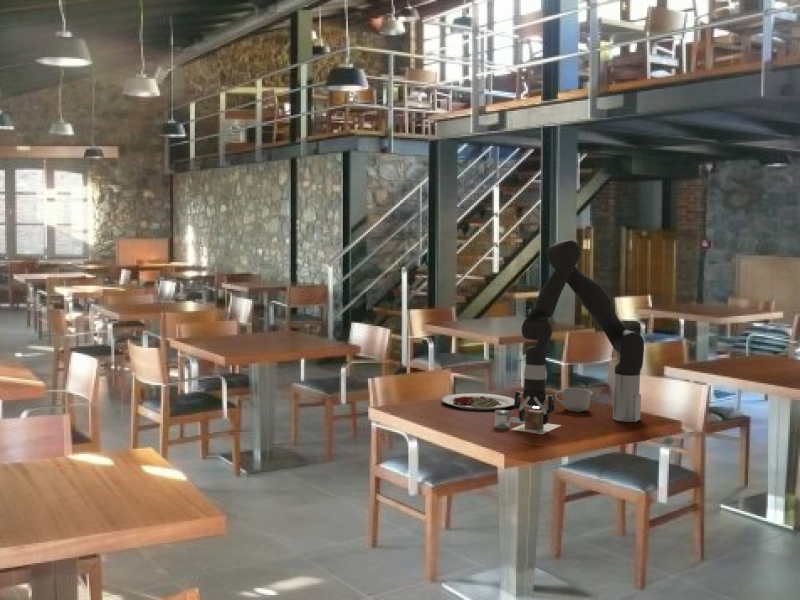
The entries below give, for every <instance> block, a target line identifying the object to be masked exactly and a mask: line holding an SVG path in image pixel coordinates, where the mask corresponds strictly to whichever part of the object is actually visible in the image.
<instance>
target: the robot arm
mask: <svg viewBox="0 0 800 600" xmlns="http://www.w3.org/2000/svg"><path fill="white" fill-rule="evenodd" d="M580 257H581V249H580V245H579V244H578V243H577V241H574V240H572V239H565V240H562V241H559V242H556V243H553V244H551V245H549V246H548V248H547V250H546V258H547V261H548V262H549V264H550V266H551V267H552V268H553V269H554V271H553V272H552V274H551V275H550V277H549V278H548V280H547V281H546V282H545V284H544V285H543V287H542V288H541V290H540V292H539V294H538V296H537V299H536V301H535V305H534V307H533V308H532V310H531V311H530V312H529V313H528V315H527V316H526V318H525V319H524V321H523V323H522V325H521V335H522V337H523V338H524V339H526V340H528V341H529V340H532V341H537V342H536V345H534V346H529V347H527V348H526V349H525V350H526V351H525V364H524V370H523V371H524V372H523V373H524V374H523V380H524V381H523V391H520V390H517V391H515V393H514V399H515V401H514V405H513V408H514V409H517V410H518V411H519V413H518V418H519V419H520V421H522V422H523V421H524V420H525V412H526V410H525V409H526V408H527V406H532V405H533V406H539V408H540V409H539V410H540V411H543V413H544V414H543V424H544V425H546V424H547V423H548V424H549V419H550V418H549V416H550V414H553V413H554V412H555V394H551V395H547V394H546V389H547V388H546V384H547V378H546V370H547V367H546V365H547V363H546V362H547V361H546V360H547V353H548V352H547V351H548V348H549V344H550V341H551V339H552V338H551V337H552V334H553V329H552V325H551V323H550V322H549V321H548V320H546V319H550V318H552V317H553V315H554V314H555V310H556V307H557V305H558V302H559V299H560V297H561V294H562V292H563V290H564V288H565V286H566V284H567V285H568V286H569V288H570V289H571V290H572V291H573V293H574V294H575V296H576V297H577V299H579V301H580V303H581V304H582V305H583V306H584V308H585V309H586V310H587V312H588V313H589V315H591V317H592V318H593V319H594V321H595V322H596V323H597V324H598V326H599V327H600V328H601V329H602V330H603V333H604V334H605V336H606V337H607V339H608V341H609V343H610V344H611V346H612V348H613V349H614V350H615V351H616V352H617V354H620V355H619V362H618V364H616V365H615V366H614V378H613V379H614V381H613V405H612V406H613V407H612V408H613V409H612V410H613V411H612V412H613V413H612V419H613V420H614V421H618V422H624V423H625V422H628V423H637V422H638V421H640V420H641V413H642V412H641V408H642V395H641V393H640V388H641V387H640V385H641V370H642V367H643V364H644V356H645V355H644V352H645V342H644V338H643V336H642V335H641V334H640V333H638V332H637V331H633V330H629V329H628V328H627V327H626V326H625V325H624V324H623V323H622V322H621V320H620V319H619V318H618V316H617V314H616V311H615V308H614V303H613V302H612V300H611V298H610V296H609V295H608V293H607V292H606V290H605V289H604V288H603V286H602V285H601V284H600V283H598V282H597V281H596V280H594V279H593V278H591V277H589V276H588V275H586V274H585V273H583V272H582V271H580V269H578V267H577V266H576V265H577V263H578V262H579V260H580ZM522 397H523V399H524V400H523V402H522V403H521V401H522V399H521V398H522ZM545 401H547V403H546V402H545ZM547 404H548V405H547Z"/></svg>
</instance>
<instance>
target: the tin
mask: <svg viewBox="0 0 800 600" xmlns="http://www.w3.org/2000/svg"><path fill="white" fill-rule="evenodd" d="M510 416H511V411H510V410H507V409H506V410H505V409H496V410H494V428H495V429H500V430H501V429H502V430H505V429H510V426H511V425H510V424H511V422H510V418H511V417H510Z"/></svg>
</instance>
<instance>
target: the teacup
mask: <svg viewBox="0 0 800 600" xmlns="http://www.w3.org/2000/svg"><path fill="white" fill-rule="evenodd" d="M591 393H592V391H590V390H588V389H585V388H580V387H578V388H577V387H567V388H563V389H562V390H558V391H556V392H555V393H554V400H556V402H558V403H560V404H561V405H562V406H563V407H564V408H566V410H567V411H569V412H573V411H575V412H576V413H582V412H581V411H583V412H585V411H586V410H587V409H589V408H590V404H591ZM558 395H561V396H562V400H561V399H559V398H558ZM575 412H574V413H575Z"/></svg>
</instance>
